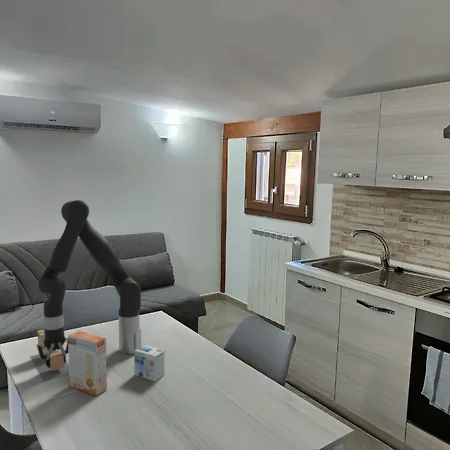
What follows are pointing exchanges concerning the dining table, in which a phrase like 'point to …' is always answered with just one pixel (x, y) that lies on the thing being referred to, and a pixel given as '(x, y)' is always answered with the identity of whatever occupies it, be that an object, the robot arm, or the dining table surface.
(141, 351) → the light bulb box
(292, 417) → the dining table surface
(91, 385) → the cracker box
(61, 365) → the terracotta cube
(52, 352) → the tower base
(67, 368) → the rubber mat
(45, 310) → the robot arm
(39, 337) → the tower mid
